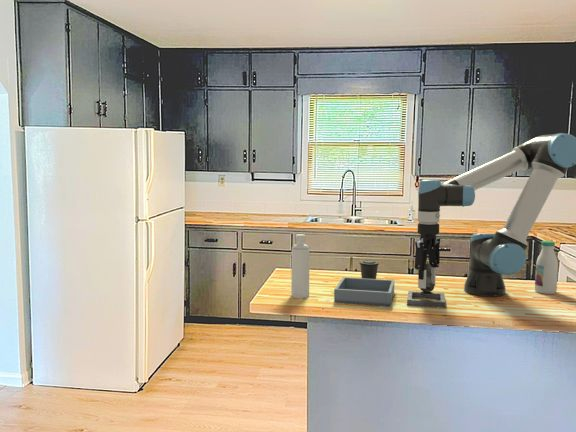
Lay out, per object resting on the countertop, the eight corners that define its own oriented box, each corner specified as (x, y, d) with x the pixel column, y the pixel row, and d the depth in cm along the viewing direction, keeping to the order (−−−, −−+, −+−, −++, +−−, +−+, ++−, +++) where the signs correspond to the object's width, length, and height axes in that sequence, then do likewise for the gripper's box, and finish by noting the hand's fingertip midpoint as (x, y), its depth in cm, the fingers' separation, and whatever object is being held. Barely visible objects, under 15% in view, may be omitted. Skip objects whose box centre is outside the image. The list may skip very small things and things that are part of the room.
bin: (394, 292, 207) (394, 280, 206) (390, 306, 187) (390, 292, 187) (342, 289, 212) (343, 277, 211) (334, 302, 192) (334, 289, 192)
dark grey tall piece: (437, 293, 194) (438, 261, 193) (430, 297, 190) (431, 263, 188) (422, 291, 198) (423, 259, 196) (415, 294, 193) (416, 261, 192)
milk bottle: (556, 290, 210) (559, 240, 208) (556, 295, 203) (559, 243, 201) (534, 288, 214) (537, 239, 211) (534, 293, 207) (537, 242, 204)
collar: (444, 298, 199) (444, 293, 198) (445, 308, 186) (445, 302, 186) (408, 296, 202) (408, 290, 202) (407, 305, 189) (407, 299, 189)
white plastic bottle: (297, 292, 206) (298, 228, 204) (312, 295, 203) (313, 230, 200) (287, 296, 201) (288, 230, 198) (302, 299, 197) (303, 232, 194)
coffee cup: (364, 281, 226) (365, 258, 224) (382, 284, 221) (382, 260, 220) (355, 285, 219) (355, 261, 218) (373, 288, 214) (373, 263, 213)
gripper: (424, 226, 182) (422, 292, 184) (451, 221, 195) (449, 283, 197) (404, 224, 187) (403, 289, 189) (432, 219, 200) (430, 280, 203)
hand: (426, 286), depth 193 cm, fingers closed on dark grey tall piece, 6 cm apart
